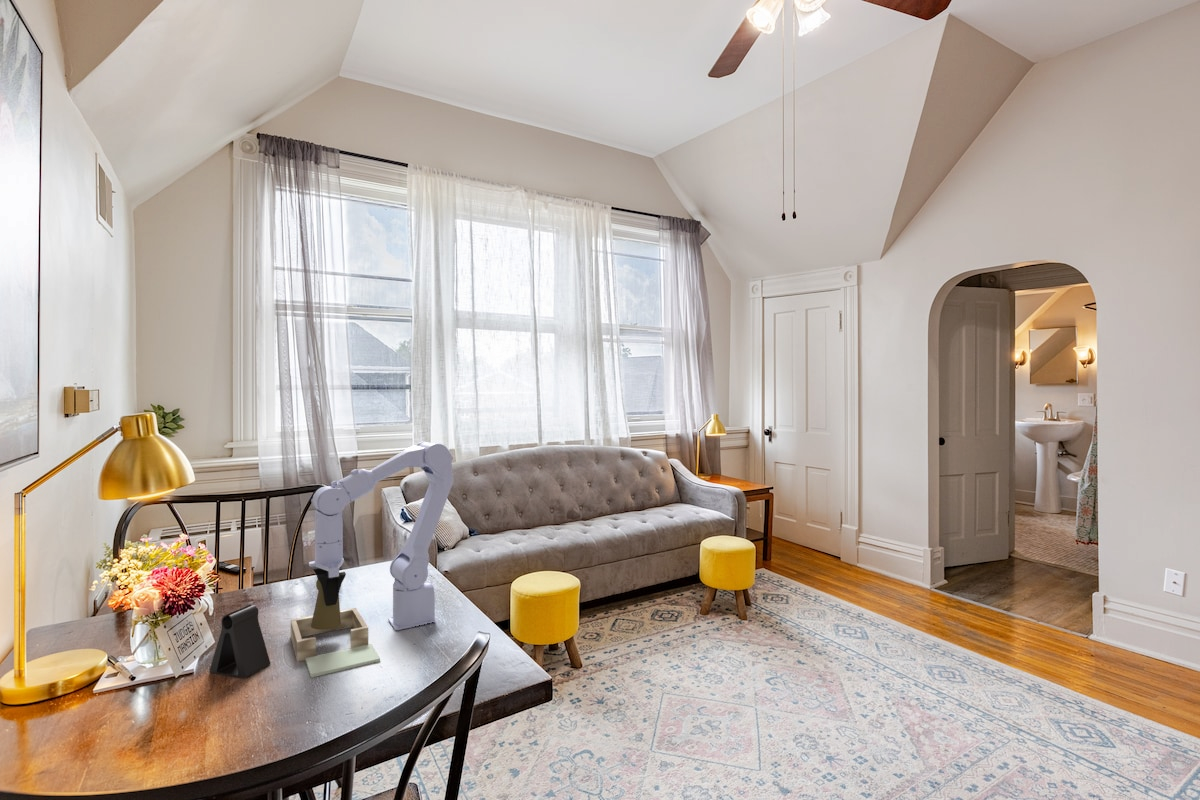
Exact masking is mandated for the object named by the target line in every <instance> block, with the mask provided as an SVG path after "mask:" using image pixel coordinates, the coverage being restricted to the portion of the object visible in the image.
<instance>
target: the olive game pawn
mask: <svg viewBox="0 0 1200 800" xmlns="http://www.w3.org/2000/svg"><path fill="white" fill-rule="evenodd" d="M315 587H316V590H317V595H316V601H315V606H314V610H313V614H312V616H313V619H312V624H311V627H312V628H313V629H319V630H326V629H332V628H335V627H338V626H339V625H340V624H341V620H340V611H341V607H340V606H341V605H340V594H339V595H338V600H337V603H336V605H330V606H326V604H325V601H324V595H323V590H322V586H321V583H320V581H319V580H318V579H316V584H315Z"/></svg>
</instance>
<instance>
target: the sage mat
mask: <svg viewBox="0 0 1200 800" xmlns="http://www.w3.org/2000/svg"><path fill="white" fill-rule="evenodd" d="M374 662H375V663H379V662H381V658H380V656H379V654H378V652H377V651H376V649H375V647H374V645H373V644H372V643H368V645H363V646H359V647H354V648H351V647H350V648H347V649H341V650H336V651H332V652H327V653H322V654H318V655H316V656H313V657H309V658H306V659H305V663H306V666H307V669H308V670H307V671H308V672H309V673H308V674H309V676H310V678H316V677H319V676H324V675H328V674H331V673H336V672H341V671H344V670H349V669H353V668H357V667H361V666H366V665H370V664H374Z"/></svg>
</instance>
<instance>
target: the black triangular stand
mask: <svg viewBox="0 0 1200 800" xmlns="http://www.w3.org/2000/svg"><path fill="white" fill-rule="evenodd" d="M220 624H221V631H220V634H219V637H218V641H217V644H216V647H215V651H214V653H213V654H214V655H213V657H212V661H211V665H210V667H209V671H208V672H209V673H210V674H213V675H220V676H225V677H226V676H228V677H232V678H239V679H243V680H244V679H247V678H249V677H250V676H253V675H254V674H256V673H257V672H259V671H261V670H263V669H265V668H266V667H268V666H270V665H271V660H270V656H269V653H268V650H267V647H266V644H265V640H264V636H263V633H262V629H261V625H260V621H259V609H258V607H257V606H256V605H255V604H254V605H251V604H248V605H246V606H244V607H240V608H239V609H237V610H233V611H232V612H229V613H227V614H224V615H223V616H222V618H221V623H220Z"/></svg>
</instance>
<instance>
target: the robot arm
mask: <svg viewBox="0 0 1200 800" xmlns="http://www.w3.org/2000/svg"><path fill="white" fill-rule="evenodd" d="M453 459H454V457H453V455H452V454H451V452H450V450H449V448H447V446H446V445H444V444H442V443H434V442H430V441H420V442H417V444H416V445H414V444H413V445H411V446H409V447H407V448H406V449H404V450H402V451H400V452H398V453H397V454H396V455H394V456H392V457H390V458H388V459H387V460H385V461H383V462H382V463H380V464H378V465H376V466H375V467H373V468H371V469H365V468H360V469H356V468H354V469H352V470H351V471H350V474H348V475H347V476H344V477H343V478H341V479H339V480H333V481H331V482H330V484H331V486H330V485H329V486H327V485H325V486H322V487H319V488H318V489H317V490H316V491H315V493H314V494H313V496H312V498H311V499H310V501H311V502H310V503H311V505H312V506H313V508H314V509H315V510H314V560H313V561H309V562H308V566H309V567H310V568H312V569H313V571H314V573H315V575H316V579H317V580H319V581H320V583H321V586H322V590H323V595H324V601H325V604H326V606H330V605H336V603H337V600H338V595H339V596H340V590H341V586H342V585H343V581H344V580H345V578H346V575H347V574H346V572H345V571H343V572H342V571H341V572H340V568H341V567H342V565H343V564H344V562H345V559H344V551H343V550H344V545H343V544H344V541H343V539H344V535H343V534H344V531H343V530H344V529H343V528H344V525H343V522H344V520H343V519H344V518H343V511H344V510H345V508H346V505H348V504H351V503H353V502H354V501H356V500H358V499H360V498H362V497H363V496H366V495H367V494H369V493H371V492H372V491H374V490H375V488H376V486H377V483H379V482H381V481H382V480H384V479H386V478H388V477H389V478H390V477H391V476H392V475H395V474H396V473H399V472H401V471H403V470H405V469H407V468H421V470H423V472H424V474H425V475H426V477H427V479H428V480H429V485H428V487H427V489H426V492H425V495H424V497H423V500H422V502H421V505H420V507H419V511H418V514H417V515H416V519H415V521H414V524H413V526H412V529H411V531H410V533H409V537H408V539H407V542H406V543H405V544H404V545H402V547H401V548H400V550H399V552H398V554H397V556H396V557H395V558H394V559H393V560H392V561H391V563H390V565H389V573H390V576H392V578H393V579H394V581H393V584H392V617H388V618H387V620H388V623H390V625H391V626H392V627H393V629H394V630H395V631H401V630H405V629H410V628H414V627H415V626H416V627H420V626H424V624H425V625H428V624H427V623H430V624H432V623H431V622H434V623H436V622H435V621H436V618H435V617H436V615H435V614H436V613H435V612H436V611H435V609H436V604H435V603H436V596H435V595H436V594H435V589H434V588H435V587H434V585H433V584H432V582H426V581H427V579H428V576H429V571H428V570H429V569H428V566H429V563H430V556H429V555H430V554H429V548H430V546H431V543H432V540H433V538H434V534H435V532H436V529H437V526H438V523H439V521H440V519H441V516H442V513H443V511H444V508H445V505H446V503H447V499H448V497H449V495H450V492H451V489H452V486H453V483H454V474H453V464H452V463H453ZM419 625H420V626H419Z"/></svg>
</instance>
